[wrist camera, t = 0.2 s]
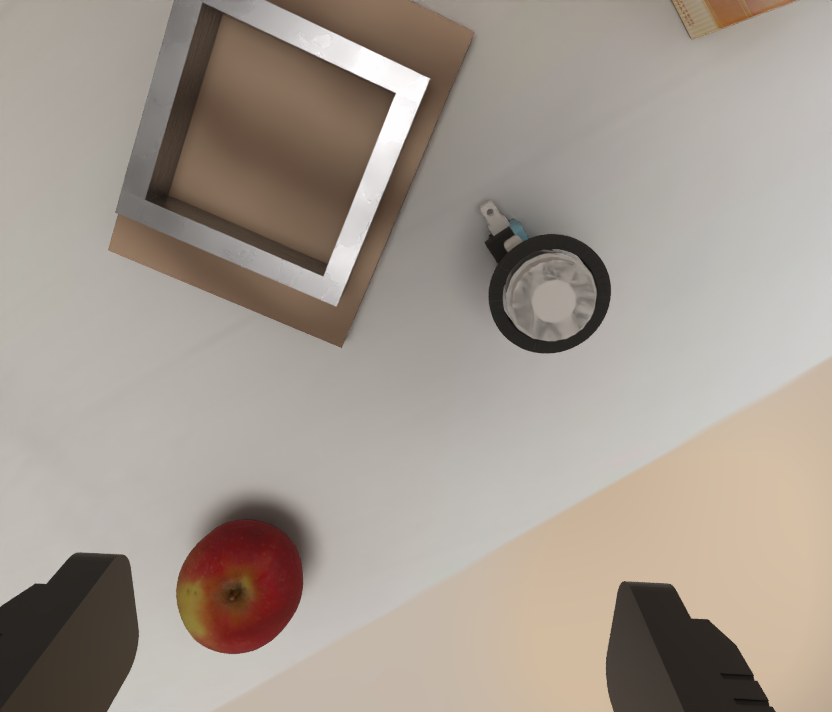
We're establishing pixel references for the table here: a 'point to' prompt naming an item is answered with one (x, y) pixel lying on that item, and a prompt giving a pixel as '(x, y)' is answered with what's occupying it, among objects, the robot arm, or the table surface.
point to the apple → (240, 586)
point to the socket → (170, 119)
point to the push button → (544, 287)
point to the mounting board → (298, 152)
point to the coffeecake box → (721, 13)
